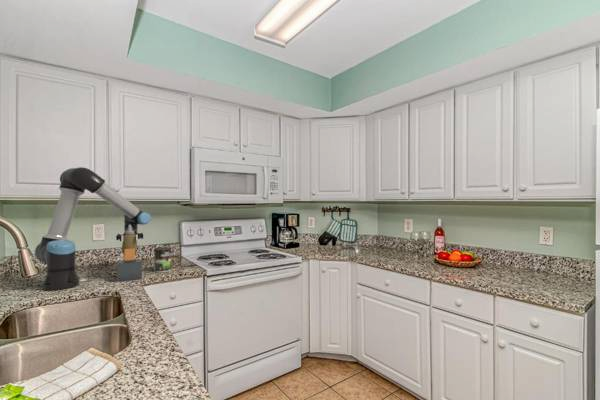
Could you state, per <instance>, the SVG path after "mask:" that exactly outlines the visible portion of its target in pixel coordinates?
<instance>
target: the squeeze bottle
mask: <svg viewBox="0 0 600 400" xmlns="http://www.w3.org/2000/svg"><path fill="white" fill-rule="evenodd" d="M125 234H126V235H124V236H123V241H122V248H121V252H122V254H123V257H125V249H134V248H135V256H136V255H137V252H138V249H139V248H138V247H139V246H138V240H137V241H136V235H135V234H134V231H132V227H131V225H128V230H127V231H125Z"/></svg>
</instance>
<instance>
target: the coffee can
mask: <svg viewBox="0 0 600 400" xmlns="http://www.w3.org/2000/svg"><path fill="white" fill-rule="evenodd" d="M172 249H173V248H172V247H168V246H167V247H156V248H154V249H153V272H154V273H167V272H171V271H172V270H173V269H172Z"/></svg>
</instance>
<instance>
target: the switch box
mask: <svg viewBox="0 0 600 400" xmlns="http://www.w3.org/2000/svg"><path fill="white" fill-rule="evenodd" d="M135 259H136V258H135ZM123 261H124V260H118V261H117V263H116V282H117V283H119V282H128V281H136V280H142V279H143V260H142V258H137V259H136V261H132V262H123Z"/></svg>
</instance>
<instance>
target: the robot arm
mask: <svg viewBox="0 0 600 400" xmlns="http://www.w3.org/2000/svg"><path fill="white" fill-rule="evenodd" d="M59 182H60V185H59V188H58V189H59V190H60V192H61V193H60V195H59V199H58V201H57V205H56V207H55V210H54V213H53V216H52V219H51V222H50V225H49V228H48V231H47V233H46V234H45V235H43V236H42V238H41V241H40V242H39V244H38V245H37V246H36V247H35V248H34V249H35V250H34V255H35V257H36V258H37V260H38V261H40V262H41V263H44V264H46V274H45V278H44V280H43V282H42V286H41V287H42V290H43V291H58V290H59V291H60V290H65V289H70V288H74V287H77V286H79V285H80V278H79V276H78V273H77V271H76V243H75V241H73V240H69V238H68V237H67V236H68V233H69V230H70V228H71V225H72V221H73V219H74V215H75V212H76V208H77V205H78V203H79V199H80V197H81V196H82V195H84V193H85V191H86V190H87V191H89V192H90V193H91V194H96V195H97V196H99V197H100V198H101V199H102V200H104V201H105V202H107V203H108V204H110V206H113V207H114V208H115V209H117V210H118V211H119V212H121V213H122V214H123V215H124V216H123V219H124V221H123V222H124V227H123V228H124V229H123V230H124V233H122V234H121V233H117V235H116V236H115V239H116V240H115V241H119V242H123V236H124V235H126V234H125V231H127V230H128V225H131V227H132V231H134V234H135V235H136V241H137V242H138V240H143V239H144V233H143V232H140V233H138V225H140V226H141V225H142V226H143V225H148V224H149V223H150V222H151V215H150V214H149V212H145V211H142V210H141V209H140V208H138V207H137V206H136V205H134V204H133V203H132V202H131V201H129V200H128V199H126V198H125V197H124V196H122V195H121V194H120V193H118V192H117V191H116V190H115V189H113V188H112V187H110V185H108V184H107V183H106V180H105V179H104V178H102V177H101V176H99V174H97V173H96V172H94V171H93V170H91V169H89V168H87V167H82V166H81V167H79V166H78V167H72V168H67V169H65V170H64V171H63V172H62V173H61V174H60V176H59Z"/></svg>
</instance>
